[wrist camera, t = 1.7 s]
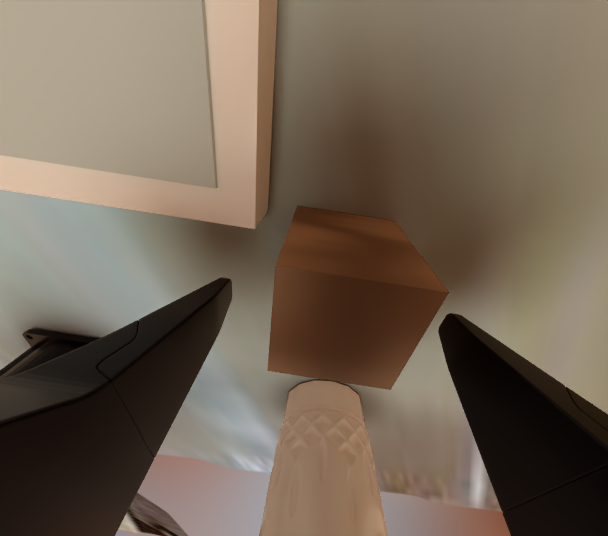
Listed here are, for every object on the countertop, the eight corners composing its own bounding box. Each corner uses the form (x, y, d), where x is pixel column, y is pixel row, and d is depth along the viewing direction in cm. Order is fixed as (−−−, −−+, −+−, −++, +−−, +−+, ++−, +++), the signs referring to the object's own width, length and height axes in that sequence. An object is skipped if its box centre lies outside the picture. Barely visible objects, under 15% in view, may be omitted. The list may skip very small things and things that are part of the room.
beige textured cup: (287, 367, 19) (254, 568, 10) (380, 384, 19) (426, 596, 10) (277, 414, 23) (248, 584, 14) (353, 427, 23) (370, 603, 14)
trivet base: (39, 175, 12) (-31, 186, 9) (-207, -356, 5) (-600, -716, 3) (267, 211, 12) (253, 230, 9) (291, -278, 5) (265, -584, 3)
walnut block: (288, 283, 14) (267, 370, 9) (297, 205, 12) (275, 265, 6) (367, 296, 14) (390, 389, 9) (394, 220, 12) (449, 292, 6)
